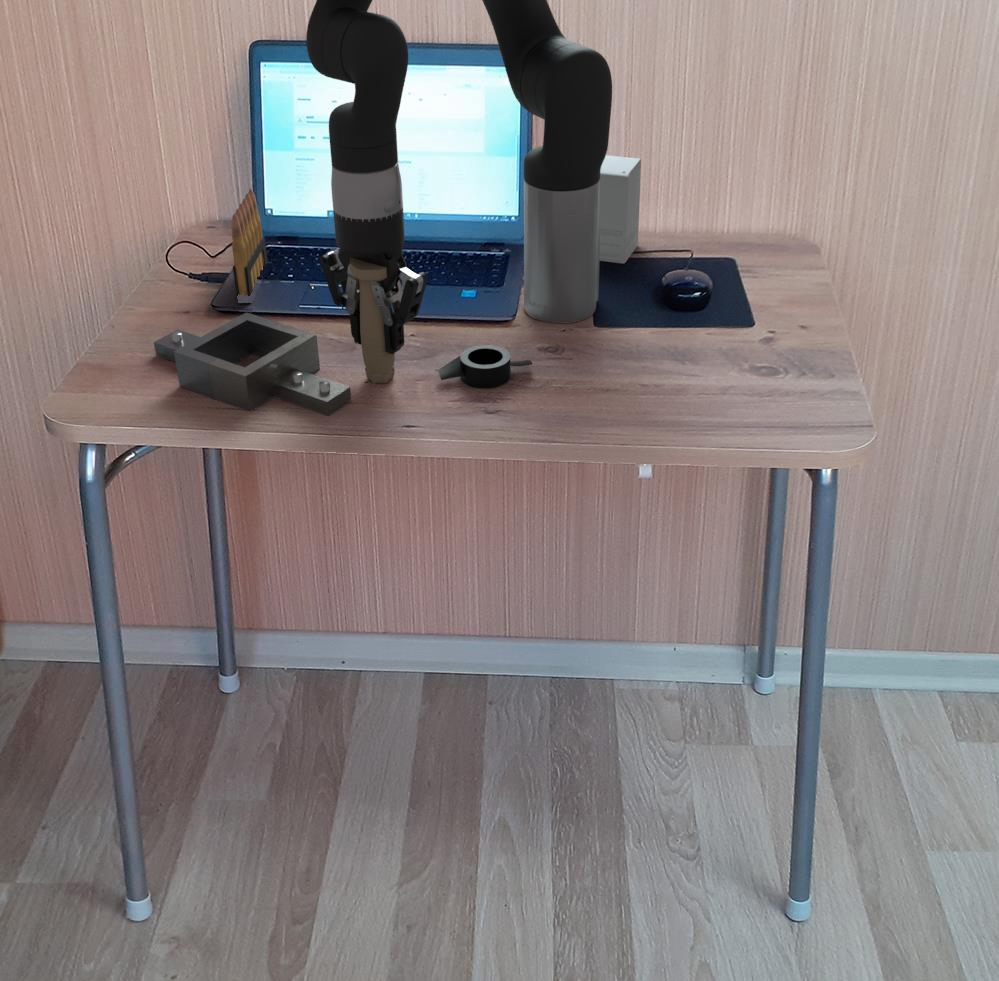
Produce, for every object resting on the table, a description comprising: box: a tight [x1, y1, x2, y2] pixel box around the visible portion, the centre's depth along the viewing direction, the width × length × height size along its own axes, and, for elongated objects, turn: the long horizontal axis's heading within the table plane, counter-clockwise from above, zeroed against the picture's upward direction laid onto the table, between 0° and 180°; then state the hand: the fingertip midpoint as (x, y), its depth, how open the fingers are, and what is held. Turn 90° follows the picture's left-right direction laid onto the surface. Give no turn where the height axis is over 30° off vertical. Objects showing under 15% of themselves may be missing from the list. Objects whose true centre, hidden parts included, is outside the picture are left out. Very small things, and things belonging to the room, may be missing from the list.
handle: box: [350, 258, 396, 384], centre depth 148 cm, size 5×6×15 cm
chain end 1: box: [153, 312, 281, 400], centre depth 154 cm, size 14×12×4 cm
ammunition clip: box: [231, 188, 269, 297], centre depth 170 cm, size 11×2×12 cm, turn 176°
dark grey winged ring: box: [437, 344, 533, 390], centre depth 151 cm, size 8×10×3 cm
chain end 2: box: [209, 322, 352, 417], centre depth 148 cm, size 14×12×4 cm
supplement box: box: [598, 154, 642, 265], centre depth 178 cm, size 7×7×13 cm
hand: (378, 345), depth 149 cm, fingers closed on handle, 4 cm apart
